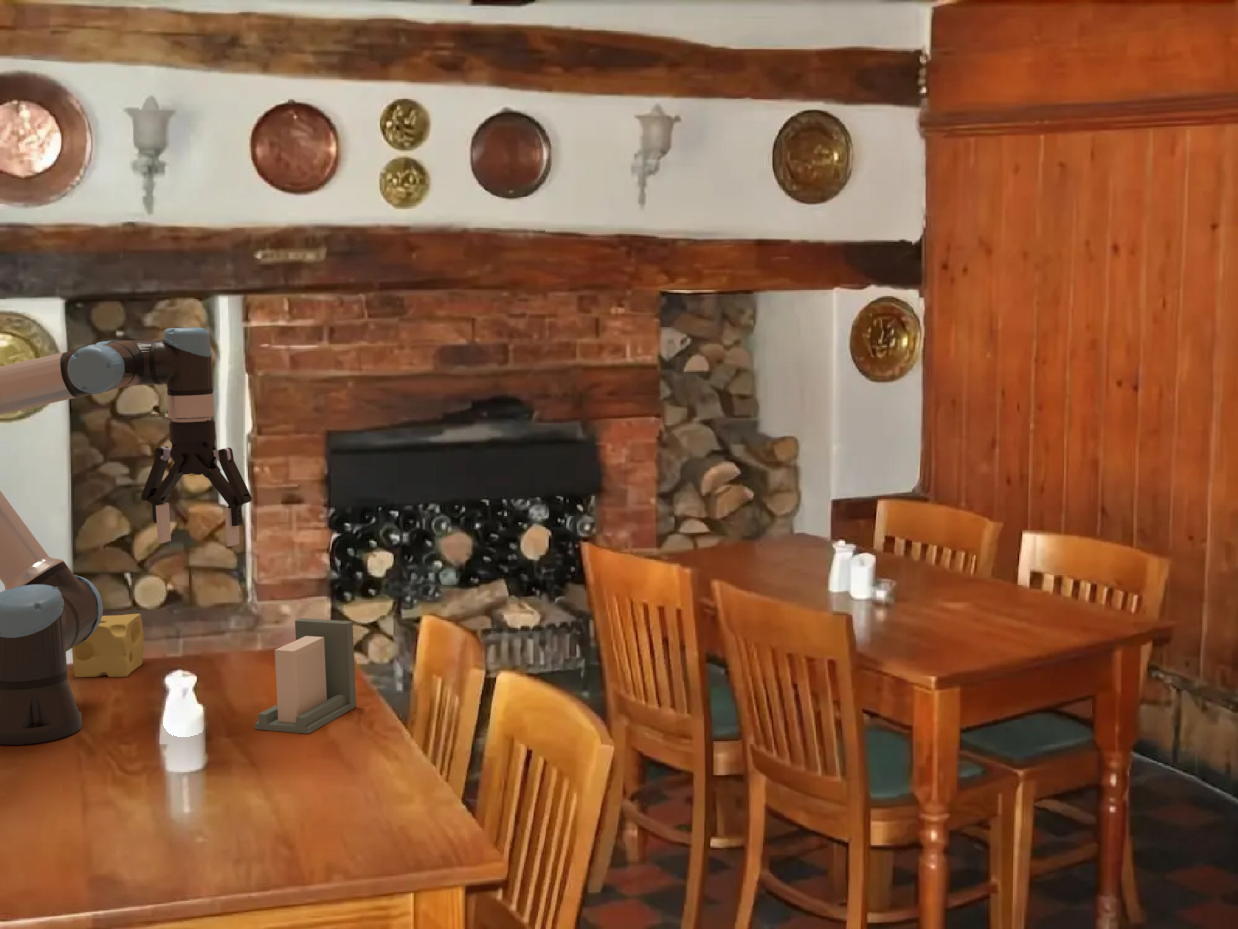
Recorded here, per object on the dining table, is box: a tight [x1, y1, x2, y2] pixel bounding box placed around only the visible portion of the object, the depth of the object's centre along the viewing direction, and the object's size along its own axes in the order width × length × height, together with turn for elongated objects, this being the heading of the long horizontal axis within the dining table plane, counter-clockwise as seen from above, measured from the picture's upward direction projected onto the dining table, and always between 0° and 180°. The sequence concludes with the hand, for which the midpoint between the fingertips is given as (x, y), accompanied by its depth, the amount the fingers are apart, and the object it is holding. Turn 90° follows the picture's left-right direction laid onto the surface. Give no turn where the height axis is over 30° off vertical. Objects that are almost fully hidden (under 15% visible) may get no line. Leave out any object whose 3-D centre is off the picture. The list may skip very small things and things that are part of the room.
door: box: [274, 636, 327, 723], centre depth 257 cm, size 10×4×12 cm, turn 162°
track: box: [254, 617, 357, 735], centre depth 258 cm, size 16×10×15 cm, turn 161°
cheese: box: [71, 613, 144, 678], centre depth 293 cm, size 10×11×10 cm
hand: (198, 543), depth 263 cm, fingers open, 13 cm apart
